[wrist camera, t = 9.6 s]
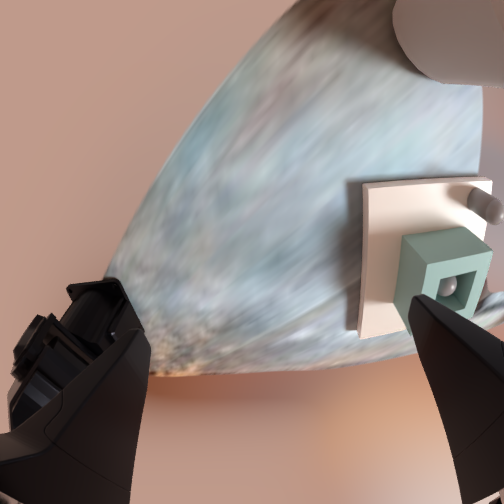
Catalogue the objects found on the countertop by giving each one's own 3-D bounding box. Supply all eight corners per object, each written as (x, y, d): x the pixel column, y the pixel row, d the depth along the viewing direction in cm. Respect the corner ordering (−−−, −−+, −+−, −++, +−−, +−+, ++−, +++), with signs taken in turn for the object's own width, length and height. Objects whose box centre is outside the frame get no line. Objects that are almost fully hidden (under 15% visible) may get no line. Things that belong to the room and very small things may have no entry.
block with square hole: (392, 303, 22) (410, 335, 18) (401, 235, 19) (427, 264, 15) (451, 289, 21) (471, 317, 18) (464, 226, 18) (493, 250, 15)
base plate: (355, 328, 25) (369, 368, 21) (360, 182, 18) (390, 208, 14) (456, 304, 24) (477, 336, 20) (481, 175, 17) (519, 196, 13)
